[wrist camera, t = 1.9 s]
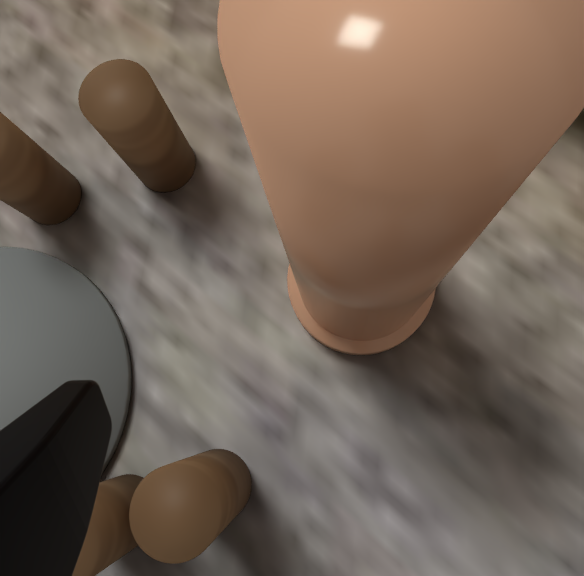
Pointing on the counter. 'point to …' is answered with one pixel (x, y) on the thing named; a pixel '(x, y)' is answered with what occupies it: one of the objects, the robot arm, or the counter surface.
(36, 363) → the slate coaster
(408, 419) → the counter surface
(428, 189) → the terracotta vase
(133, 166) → the peg
